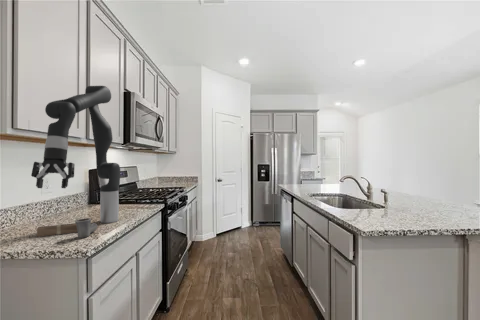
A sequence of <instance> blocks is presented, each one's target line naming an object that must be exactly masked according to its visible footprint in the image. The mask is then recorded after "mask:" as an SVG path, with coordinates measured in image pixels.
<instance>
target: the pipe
mask: <svg viewBox="0 0 480 320" xmlns="http://www.w3.org/2000/svg"><path fill="white" fill-rule="evenodd" d="M91 221H92V218H91V217H90V218H89V217H88V218H86V217H85V218H80V219H75V220H74V222H75V223H76V226H77V232H76V233H77V238H79V239H84V238H87V237H89V236H90V235H91V234H92V233H94V232H95V231H96V230H97V229H98V224H97V223H96V222H91Z"/></svg>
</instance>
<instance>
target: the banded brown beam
mask: <svg viewBox="0 0 480 320" xmlns="http://www.w3.org/2000/svg"><path fill="white" fill-rule="evenodd" d="M64 233H65V234H70V233H71V234H73V233H78V232H77V226H76V223H74V222H73V223H65V224H61V223H58V224H56V225H46V226H38V227H37V228H36V237H38V238H39V237H47V236H46V235H48V236H54V235H55V234H58V235H65V234H64ZM55 236H56V235H55Z"/></svg>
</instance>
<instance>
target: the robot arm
mask: <svg viewBox="0 0 480 320" xmlns="http://www.w3.org/2000/svg"><path fill="white" fill-rule="evenodd" d="M111 92H112V91H111V89H110V88H109V87H108V86H105V85H89V86H86V88H85V93H81V94H77V95H73V96H71V97H68V98H65V99H64V98H63V99H59V100H53V101H50V102H48V103H47V104H46V106H45V109H44V110H45V114H46V115H47V116H48V117H49V118H51V119H53V120H54V119H55V120H57V121H55V122H51V123H49V124H48V127H47V133H46V134H47V135H46V140H45V144H44V153H43V161H42V162H39V161H33V164H32V165H33V166H32V170H31V177H33V178H35V179H36V183H35V186H36V188H37V189H43V187H44V178H45V176H47V175H49V174H59V175H60V176H61V177H62V179H61V187H60V188H61V189H66V188H67V187H68V186H69V180H70V179H73V178H74V177H75V163H73V162H72V161H71V162H67V158H68V148H69V134H70V129H71V127H72V124H73V122H74V119H75V118H76V114H78V113H80V112H83V111H84V110H86V109H88V111H89V115H90V122H91V123H90V124H91V128H92V137H93V142H94V150H95V161H96V162H95V164H96V172H97V176H98V177H99V179H102V180H108V182H107V183H106V184H103V185H101V186H100V194H99V195H100V197H99V198H100V203H99V205H100V212H99V216H100V223H102V224H107V223H109V224H110V223H116V222H118V221H119V211H120V210H119V205H120V203H119V199H120V198H119V197H120V196H119V192H120V191H119V189H120V188H119V187H120V186H121V185H120V183H121V166H120V164H119V163H118V162H108V160H107V155H108V154H107V153H108V151H109V150H110V146H111V144H112V142H113V132H112V131H113V130H112V128H111V125H110V124H109V122H108V121H107V120H106V118H105V117H104V116H103V114H102V113H101V110H100V107H99V105H101V104H108V103H110V102H111V99H112V93H111ZM66 167H67V171H66V170H65V168H66ZM41 168H42V169H41ZM40 169H41V170H40Z"/></svg>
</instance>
